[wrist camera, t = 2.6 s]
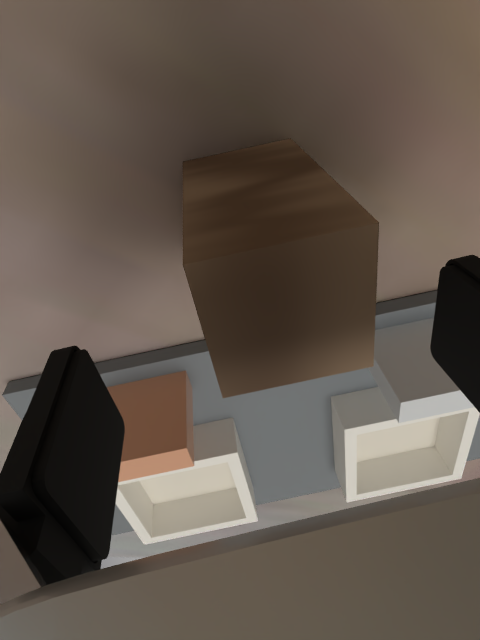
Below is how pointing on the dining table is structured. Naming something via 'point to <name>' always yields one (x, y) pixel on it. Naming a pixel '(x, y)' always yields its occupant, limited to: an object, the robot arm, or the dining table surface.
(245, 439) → the tag board
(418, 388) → the pale grey tag
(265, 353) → the walnut plug
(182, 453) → the terracotta tag
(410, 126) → the dining table surface
